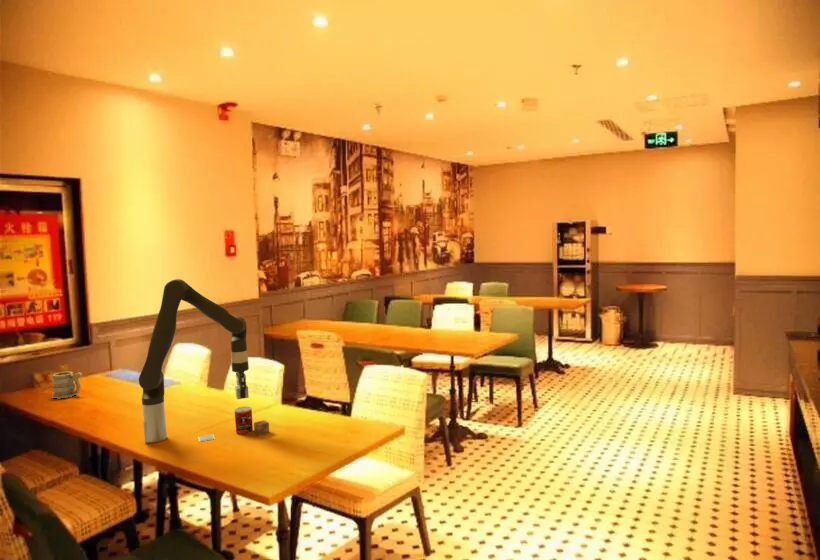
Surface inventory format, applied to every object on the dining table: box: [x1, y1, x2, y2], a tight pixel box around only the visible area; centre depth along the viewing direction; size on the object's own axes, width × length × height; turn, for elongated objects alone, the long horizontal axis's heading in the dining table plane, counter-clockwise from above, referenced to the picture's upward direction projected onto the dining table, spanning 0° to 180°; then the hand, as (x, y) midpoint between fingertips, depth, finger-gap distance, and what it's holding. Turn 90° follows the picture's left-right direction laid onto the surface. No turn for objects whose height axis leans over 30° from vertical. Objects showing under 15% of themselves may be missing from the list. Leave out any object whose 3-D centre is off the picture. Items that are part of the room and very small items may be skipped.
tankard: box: [51, 371, 83, 400], centre depth 352 cm, size 20×13×15 cm, turn 73°
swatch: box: [197, 434, 216, 443], centre depth 268 cm, size 7×7×1 cm
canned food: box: [234, 406, 254, 435], centre depth 274 cm, size 8×8×11 cm
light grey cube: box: [234, 384, 249, 400], centre depth 273 cm, size 5×5×5 cm
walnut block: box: [253, 420, 270, 436], centre depth 272 cm, size 5×5×5 cm
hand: (242, 396), depth 273 cm, fingers closed on light grey cube, 5 cm apart
